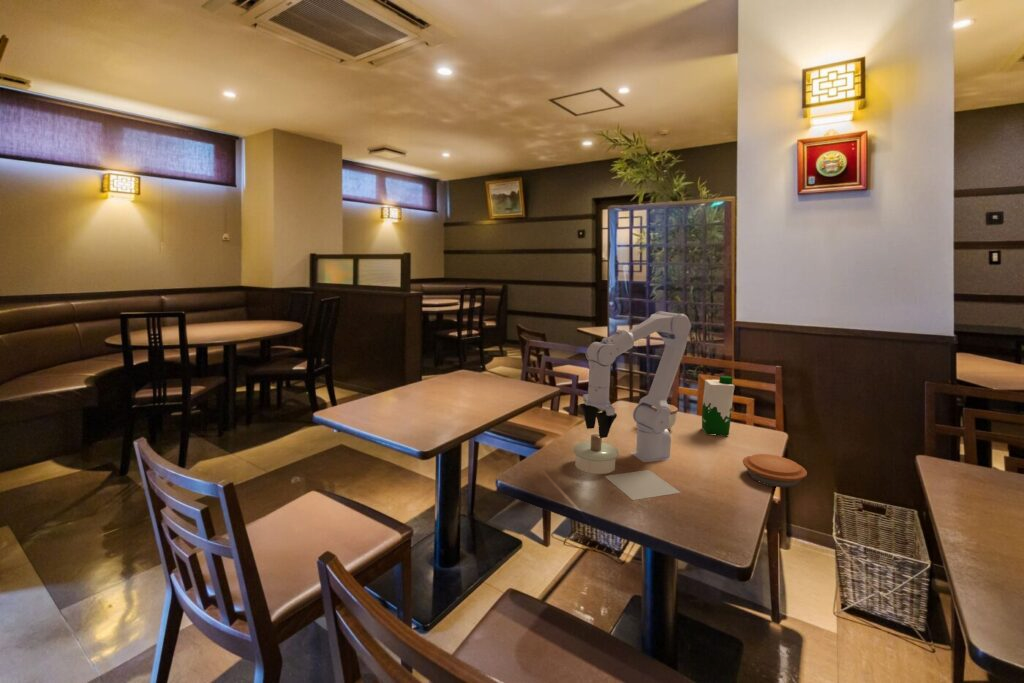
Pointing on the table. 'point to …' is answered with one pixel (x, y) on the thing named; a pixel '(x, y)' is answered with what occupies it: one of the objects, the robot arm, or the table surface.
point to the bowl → (595, 465)
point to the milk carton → (717, 405)
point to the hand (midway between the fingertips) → (596, 432)
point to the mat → (641, 484)
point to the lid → (595, 450)
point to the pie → (774, 470)
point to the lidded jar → (671, 415)
